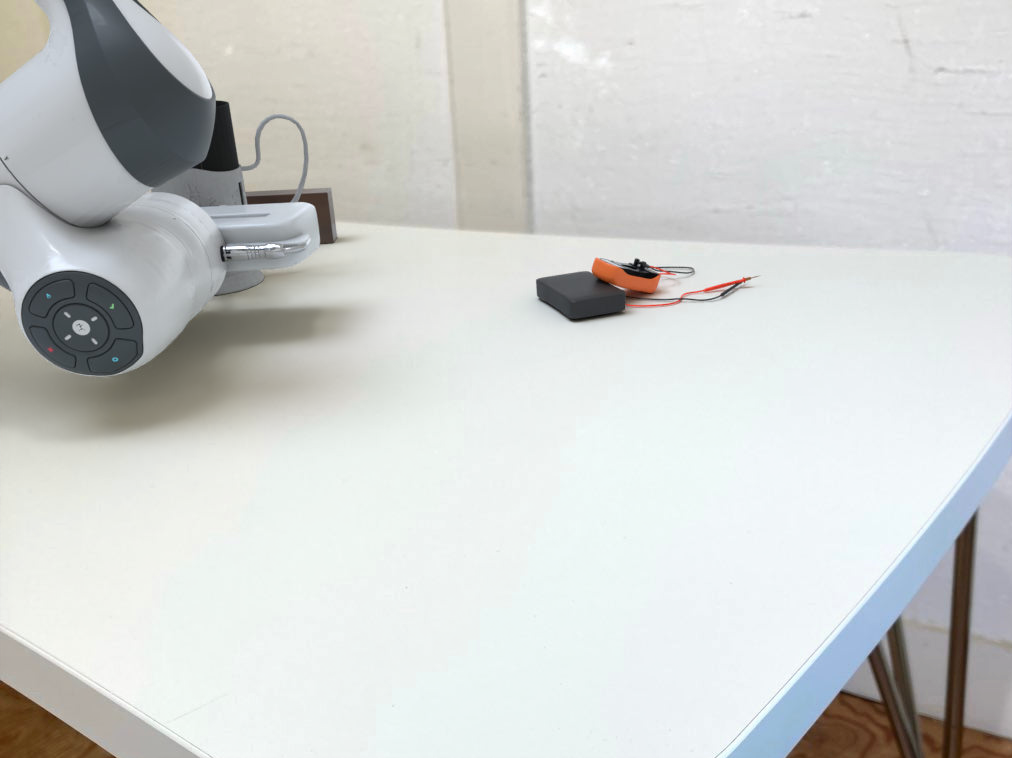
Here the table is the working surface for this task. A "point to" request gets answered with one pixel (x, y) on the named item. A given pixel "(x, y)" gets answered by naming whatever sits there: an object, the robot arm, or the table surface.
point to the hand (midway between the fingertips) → (211, 215)
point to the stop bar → (314, 196)
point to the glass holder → (226, 181)
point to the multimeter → (609, 287)
